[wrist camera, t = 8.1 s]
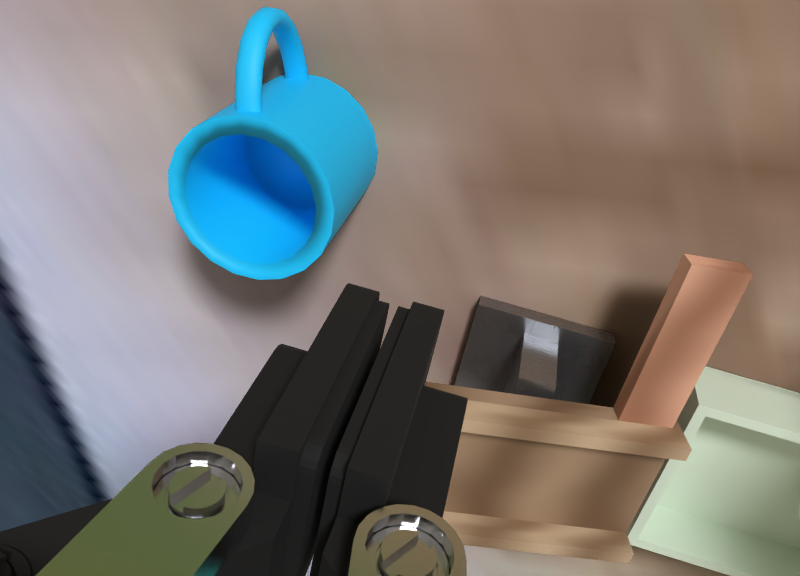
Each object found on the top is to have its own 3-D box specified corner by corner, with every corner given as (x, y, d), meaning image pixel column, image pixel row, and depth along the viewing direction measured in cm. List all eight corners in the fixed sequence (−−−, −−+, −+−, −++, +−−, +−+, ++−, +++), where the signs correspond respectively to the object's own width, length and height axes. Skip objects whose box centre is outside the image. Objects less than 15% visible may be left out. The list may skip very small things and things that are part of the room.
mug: (379, 220, 42) (338, 288, 35) (246, 208, 43) (181, 271, 36) (374, -3, 36) (324, 25, 29) (221, -7, 37) (138, 19, 30)
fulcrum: (614, 334, 42) (618, 390, 37) (552, 479, 48) (549, 542, 43) (480, 296, 42) (468, 346, 38) (436, 443, 49) (421, 502, 44)
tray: (924, 428, 40) (955, 478, 37) (824, 557, 46) (844, 611, 43) (689, 361, 41) (699, 404, 38) (621, 495, 47) (624, 542, 44)
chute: (753, 265, 34) (795, 313, 30) (616, 527, 43) (636, 586, 40) (419, 209, 32) (423, 253, 28) (353, 496, 41) (350, 555, 38)
